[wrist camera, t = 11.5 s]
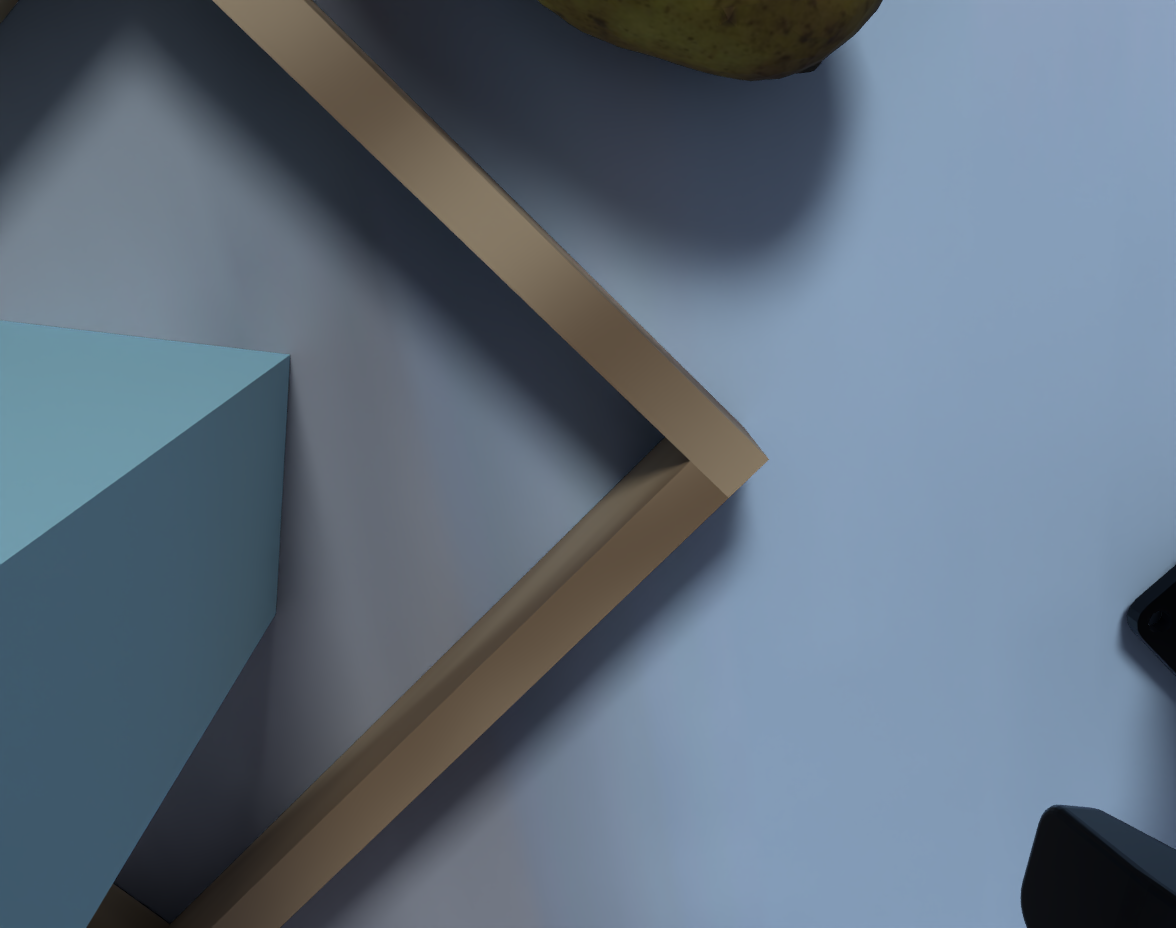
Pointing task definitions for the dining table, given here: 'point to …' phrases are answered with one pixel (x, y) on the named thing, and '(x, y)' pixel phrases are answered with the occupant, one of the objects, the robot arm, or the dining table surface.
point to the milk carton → (121, 587)
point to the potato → (724, 31)
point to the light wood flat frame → (558, 581)
